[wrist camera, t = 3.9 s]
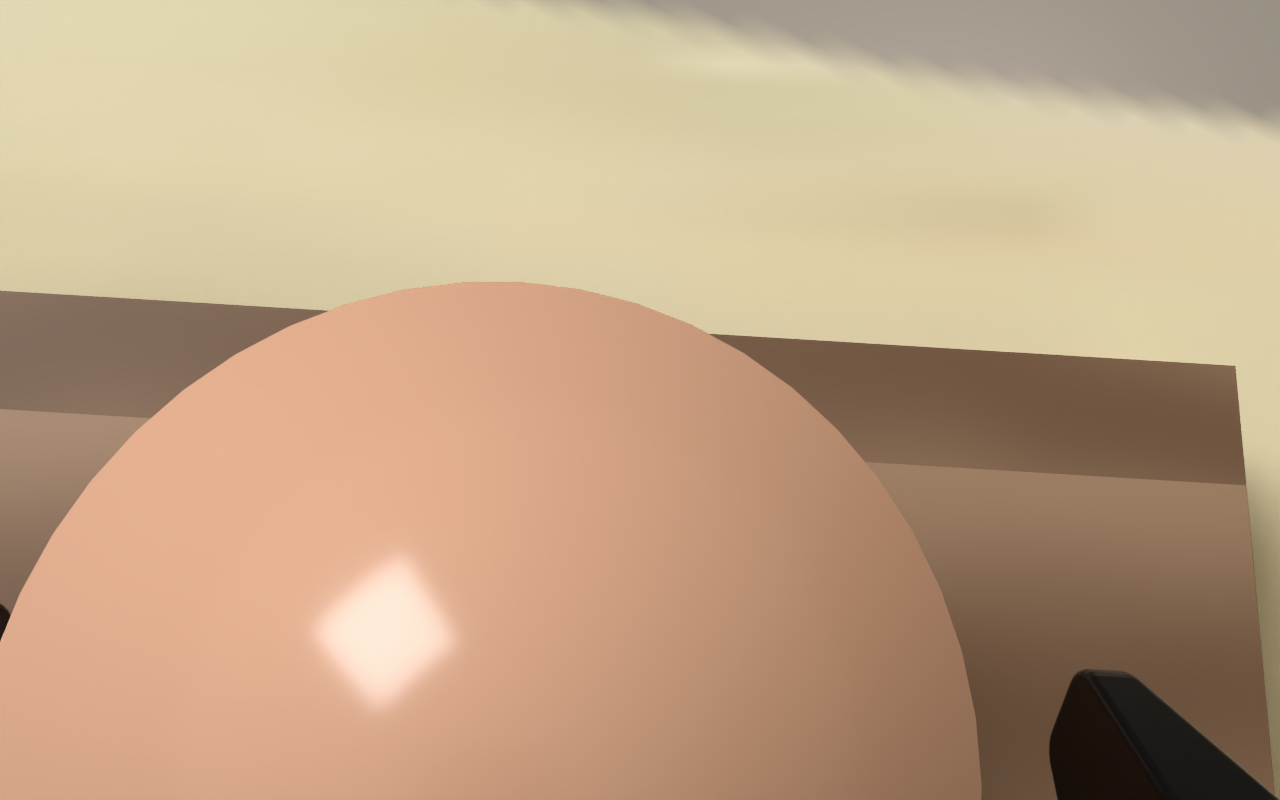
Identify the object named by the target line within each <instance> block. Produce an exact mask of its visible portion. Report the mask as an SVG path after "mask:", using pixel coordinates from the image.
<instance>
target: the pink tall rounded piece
mask: <svg viewBox="0 0 1280 800" xmlns="http://www.w3.org/2000/svg"><path fill="white" fill-rule="evenodd" d="M981 793H982V784H981V772H980V760H979V749H978V737H977V725H976V716H975V711H974V706H973V702H972V697H971V692H970V687H969V682H968V678H967V673H966V668H965V663H964V659H963V654H962V650H961V647H960V644H959V641H958V638H957V635H956V632H955V629H954V627H953V624H952V621H951V618H950V615H949V612H948V609H947V606H946V603H945V600H944V597H943V594H942V592H941V589H940V586H939V584H938V582H937V580H936V578H935V576H934V574H933V572H932V570H931V568H930V566H929V564H928V562H927V560H926V558H925V556H924V554H923V552H922V549H921V547H920V545H919V543H918V541H917V539H916V537H915V535H914V533H913V531H912V529H911V528H910V526H909V525H908V523H907V521H906V520H905V518H904V517H903V515H902V514H901V512H900V511H899V509H898V508H897V506H896V505H895V503H894V501H893V500H892V498H891V497H890V495H889V494H888V492H887V491H886V489H885V488H884V486H883V485H882V483H881V481H880V480H879V478H878V477H877V476H876V475H875V473H874V472H873V471H872V470H871V469H870V467H869V466H868V465H867V464H866V463H865V461H864V460H863V459H862V458H861V457H860V456H859V454H858V453H857V452H856V451H855V450H854V448H853V447H852V446H851V445H850V444H849V442H848V441H847V440H846V439H845V438H844V437H843V435H842V434H841V433H840V432H839V431H838V429H836V428H835V427H834V426H833V425H832V424H831V423H830V422H829V421H828V420H827V419H826V418H825V417H824V416H822V415H821V414H820V413H819V412H818V411H817V410H816V409H815V408H814V407H813V406H812V405H811V404H809V403H808V402H807V401H806V400H805V399H804V398H803V397H802V396H801V395H800V394H799V393H798V392H796V391H795V390H794V389H793V388H792V387H791V386H789V385H788V384H786V383H785V382H784V381H782V380H781V379H779V378H778V377H777V376H775V375H774V374H772V373H771V372H770V371H768V370H767V369H765V368H764V367H763V366H761V365H760V364H758V363H757V362H756V361H754V360H753V359H751V358H750V357H749V356H747V355H746V354H744V353H743V352H741V351H739V350H737V349H735V348H733V347H732V346H730V345H728V344H726V343H724V342H722V341H720V340H719V339H717V338H715V337H713V336H711V335H709V334H708V333H706V332H704V331H702V330H700V329H698V328H696V327H695V326H693V325H691V324H688V323H685V322H683V321H680V320H678V319H675V318H673V317H670V316H667V315H665V314H662V313H660V312H657V311H655V310H652V309H649V308H647V307H644V306H642V305H639V304H636V303H632V302H628V301H624V300H620V299H616V298H612V297H608V296H604V295H600V294H596V293H592V292H588V291H584V290H580V289H573V288H564V287H556V286H548V285H540V284H532V283H523V282H463V283H455V284H447V285H439V286H431V287H423V288H415V289H407V290H401V291H397V292H393V293H390V294H386V295H382V296H378V297H374V298H370V299H366V300H362V301H358V302H354V303H350V304H346V305H343V306H341V307H338V308H335V309H333V310H330V311H327V312H325V313H322V314H320V315H317V316H314V317H312V318H309V319H307V320H304V321H301V322H299V323H296V324H293V325H291V326H289V327H287V328H285V329H283V330H281V331H279V332H277V333H275V334H273V335H271V336H270V337H268V338H266V339H264V340H262V341H260V342H258V343H256V344H254V345H252V346H250V347H249V348H247V349H245V350H243V351H241V352H239V353H237V354H235V355H234V356H232V357H231V358H229V359H228V360H226V361H225V362H224V363H222V364H221V365H219V366H218V367H216V368H215V369H213V370H212V371H210V372H209V373H207V374H206V375H205V376H203V377H202V378H200V379H199V380H197V381H196V382H194V383H193V384H191V385H190V386H188V387H187V388H186V389H184V390H183V391H182V392H180V393H179V394H178V395H177V396H176V397H175V398H174V399H172V400H171V401H170V402H169V403H168V404H167V405H166V406H164V407H163V408H162V409H161V410H160V411H159V412H158V413H156V414H155V415H154V416H153V417H152V418H151V419H150V420H148V421H147V422H146V423H145V424H144V425H143V426H142V427H140V428H139V429H138V430H137V431H136V432H135V433H134V434H133V435H132V436H131V437H130V438H129V439H128V440H127V442H126V443H125V444H124V445H123V446H122V447H121V448H120V449H119V450H118V451H117V453H116V454H115V455H114V456H113V457H112V458H111V459H110V460H109V461H108V462H107V464H106V465H105V466H104V467H103V468H102V469H101V470H100V471H99V472H98V473H97V475H96V476H95V477H94V478H93V479H92V480H91V481H90V483H89V484H88V486H87V487H86V488H85V490H84V491H83V493H82V494H81V495H80V497H79V498H78V500H77V501H76V502H75V504H74V505H73V507H72V508H71V509H70V511H69V512H68V514H67V515H66V516H65V518H64V519H63V521H62V522H61V523H60V525H59V526H58V527H57V529H56V530H55V532H54V533H53V535H52V536H51V538H50V540H49V542H48V544H47V545H46V547H45V549H44V551H43V553H42V554H41V556H40V558H39V560H38V562H37V563H36V565H35V567H34V569H33V571H32V572H31V574H30V576H29V578H28V580H27V582H26V583H25V585H24V587H23V589H22V591H21V592H20V594H19V597H18V599H17V602H16V604H15V607H14V609H13V612H12V614H11V616H10V619H9V621H8V624H7V626H6V629H5V631H4V634H3V636H2V638H1V641H0V800H981Z"/></svg>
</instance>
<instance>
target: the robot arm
mask: <svg viewBox="0 0 1280 800" xmlns="http://www.w3.org/2000/svg"><path fill="white" fill-rule="evenodd" d="M10 616H11V614H10V612H9V610H8V609H7V608H6V607H5V606H3V605H2V604H1V603H0V641H1V638H2V636H3V634H4V631H5V629H6V626H7V624H8V621H9V619H10ZM1049 759H1050V766H1051V771H1052V775H1053V780H1054V785H1055V790H1056V795H1057V799H1058V800H1279V799H1278V798H1277V797H1276V796H1275V795H1274V794H1272V793H1271V792H1270V791H1269V790H1268V789H1267V788H1265V787H1264V786H1263V785H1262V784H1261V783H1260V782H1258V781H1257V780H1256V779H1255V778H1254V777H1253V776H1251V775H1250V774H1249V773H1248V772H1247V771H1246V770H1244V769H1243V768H1242V767H1241V766H1240V765H1239V764H1237V763H1236V762H1235V761H1234V760H1233V759H1232V758H1230V757H1229V756H1228V755H1227V754H1226V753H1225V752H1223V751H1222V750H1221V749H1220V748H1219V747H1218V746H1216V745H1215V744H1214V743H1213V742H1212V741H1211V740H1209V739H1208V738H1207V737H1206V736H1205V735H1204V734H1202V733H1201V732H1200V731H1199V730H1198V729H1197V728H1195V727H1194V726H1193V725H1192V724H1191V723H1190V722H1188V721H1187V720H1186V719H1185V718H1184V717H1183V716H1181V715H1180V714H1179V713H1178V712H1177V711H1176V710H1174V709H1173V708H1172V707H1171V706H1170V705H1169V704H1167V703H1166V702H1165V701H1164V700H1163V699H1162V698H1160V697H1159V696H1158V695H1157V694H1156V693H1155V692H1153V691H1152V690H1151V689H1150V688H1149V687H1148V686H1146V685H1145V684H1144V683H1143V682H1142V681H1141V680H1139V679H1138V678H1137V677H1135V676H1134V675H1132V674H1130V673H1128V672H1124V671H1116V670H1100V669H1083V670H1080V671H1078V672H1077V673H1076V674H1075V675H1074V676H1073V678H1072V680H1071V682H1070V685H1069V687H1068V690H1067V692H1066V695H1065V698H1064V700H1063V703H1062V706H1061V708H1060V711H1059V713H1058V716H1057V719H1056V721H1055V724H1054V727H1053V729H1052V732H1051V736H1050V742H1049Z"/></svg>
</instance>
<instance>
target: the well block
mask: <svg viewBox="0 0 1280 800" xmlns="http://www.w3.org/2000/svg"><path fill="white" fill-rule="evenodd" d="M325 312H327V311H323V310H306V309H290V308H273V307H257V306H241V305H224V304H208V303H191V302H175V301H158V300H142V299H125V298H109V297H93V296H76V295H60V294H43V293H27V292H10V291H0V603H1V604H2V605H3V606H5V607H6V608H7V609H8V610H9V612H10V614H12V612H13V609H14V607H15V604H16V602H17V599H18V597H19V594H20V592H21V591H22V589H23V587H24V585H25V583H26V582H27V580H28V578H29V576H30V574H31V572H32V571H33V569H34V567H35V565H36V563H37V562H38V560H39V558H40V556H41V554H42V553H43V551H44V549H45V547H46V545H47V544H48V542H49V540H50V538H51V536H52V535H53V533H54V532H55V530H56V529H57V527H58V526H59V525H60V523H61V522H62V521H63V519H64V518H65V516H66V515H67V514H68V512H69V511H70V509H71V508H72V507H73V505H74V504H75V502H76V501H77V500H78V498H79V497H80V495H81V494H82V493H83V491H84V490H85V488H86V487H87V486H88V484H89V483H90V481H91V480H92V479H93V478H94V477H95V476H96V475H97V473H98V472H99V471H100V470H101V469H102V468H103V467H104V466H105V465H106V464H107V462H108V461H109V460H110V459H111V458H112V457H113V456H114V455H115V454H116V453H117V451H118V450H119V449H120V448H121V447H122V446H123V445H124V444H125V443H126V442H127V440H128V439H129V438H130V437H131V436H132V435H133V434H134V433H135V432H136V431H137V430H138V429H139V428H140V427H142V426H143V425H144V424H145V423H146V422H147V421H148V420H150V419H151V418H152V417H153V416H154V415H155V414H156V413H158V412H159V411H160V410H161V409H162V408H163V407H164V406H166V405H167V404H168V403H169V402H170V401H171V400H172V399H174V398H175V397H176V396H177V395H178V394H179V393H180V392H182V391H183V390H184V389H186V388H187V387H188V386H190V385H191V384H193V383H194V382H196V381H197V380H199V379H200V378H202V377H203V376H205V375H206V374H207V373H209V372H210V371H212V370H213V369H215V368H216V367H218V366H219V365H221V364H222V363H224V362H225V361H226V360H228V359H229V358H231V357H232V356H234V355H235V354H237V353H239V352H241V351H243V350H245V349H247V348H249V347H250V346H252V345H254V344H256V343H258V342H260V341H262V340H264V339H266V338H268V337H270V336H271V335H273V334H275V333H277V332H279V331H281V330H283V329H285V328H287V327H289V326H291V325H293V324H296V323H299V322H301V321H304V320H307V319H309V318H312V317H314V316H317V315H320V314H322V313H325ZM709 335H711V336H713V337H715V338H717V339H719V340H720V341H722V342H724V343H726V344H728V345H730V346H732V347H733V348H735V349H737V350H739V351H741V352H743V353H744V354H746V355H747V356H749V357H750V358H751V359H753V360H754V361H756V362H757V363H758V364H760V365H761V366H763V367H764V368H765V369H767V370H768V371H770V372H771V373H772V374H774V375H775V376H777V377H778V378H779V379H781V380H782V381H784V382H785V383H786V384H788V385H789V386H791V387H792V388H793V389H794V390H795V391H796V392H798V393H799V394H800V395H801V396H802V397H803V398H804V399H805V400H806V401H807V402H808V403H809V404H811V405H812V406H813V407H814V408H815V409H816V410H817V411H818V412H819V413H820V414H821V415H822V416H824V417H825V418H826V419H827V420H828V421H829V422H830V423H831V424H832V425H833V426H834V427H835V428H836V429H838V431H839V432H840V433H841V434H842V435H843V437H844V438H845V439H846V440H847V441H848V442H849V444H850V445H851V446H852V447H853V448H854V450H855V451H856V452H857V453H858V454H859V456H860V457H861V458H862V459H863V460H864V461H865V463H866V464H867V465H868V466H869V467H870V469H871V470H872V471H873V472H874V473H875V475H876V476H877V477H878V478H879V480H880V481H881V483H882V485H883V486H884V488H885V489H886V491H887V492H888V494H889V495H890V497H891V498H892V500H893V501H894V503H895V505H896V506H897V508H898V509H899V511H900V512H901V514H902V515H903V517H904V518H905V520H906V521H907V523H908V525H909V526H910V528H911V529H912V531H913V533H914V535H915V537H916V539H917V541H918V543H919V545H920V547H921V549H922V552H923V554H924V556H925V558H926V560H927V562H928V564H929V566H930V568H931V570H932V572H933V574H934V576H935V578H936V580H937V582H938V584H939V586H940V589H941V592H942V594H943V597H944V600H945V603H946V606H947V609H948V612H949V615H950V618H951V621H952V624H953V627H954V629H955V632H956V635H957V638H958V641H959V644H960V647H961V650H962V654H963V659H964V663H965V668H966V673H967V678H968V682H969V687H970V692H971V697H972V702H973V706H974V711H975V716H976V725H977V737H978V749H979V760H980V772H981V784H982V793H981V800H1058V799H1057V795H1056V790H1055V785H1054V780H1053V775H1052V771H1051V766H1050V759H1049V742H1050V736H1051V732H1052V729H1053V727H1054V724H1055V721H1056V719H1057V716H1058V713H1059V711H1060V708H1061V706H1062V703H1063V700H1064V698H1065V695H1066V692H1067V690H1068V687H1069V685H1070V682H1071V680H1072V678H1073V676H1074V675H1075V674H1076V673H1077V672H1078V671H1080V670H1083V669H1100V670H1116V671H1124V672H1128V673H1130V674H1132V675H1134V676H1135V677H1137V678H1138V679H1139V680H1141V681H1142V682H1143V683H1144V684H1145V685H1146V686H1148V687H1149V688H1150V689H1151V690H1152V691H1153V692H1155V693H1156V694H1157V695H1158V696H1159V697H1160V698H1162V699H1163V700H1164V701H1165V702H1166V703H1167V704H1169V705H1170V706H1171V707H1172V708H1173V709H1174V710H1176V711H1177V712H1178V713H1179V714H1180V715H1181V716H1183V717H1184V718H1185V719H1186V720H1187V721H1188V722H1190V723H1191V724H1192V725H1193V726H1194V727H1195V728H1197V729H1198V730H1199V731H1200V732H1201V733H1202V734H1204V735H1205V736H1206V737H1207V738H1208V739H1209V740H1211V741H1212V742H1213V743H1214V744H1215V745H1216V746H1218V747H1219V748H1220V749H1221V750H1222V751H1223V752H1225V753H1226V754H1227V755H1228V756H1229V757H1230V758H1232V759H1233V760H1234V761H1235V762H1236V763H1237V764H1239V765H1240V766H1241V767H1242V768H1243V769H1244V770H1246V771H1247V772H1248V773H1249V774H1250V775H1251V776H1253V777H1254V778H1255V779H1256V780H1257V781H1258V782H1260V783H1261V784H1262V785H1263V786H1264V787H1265V788H1267V789H1268V790H1269V791H1270V792H1271V793H1272V794H1274V783H1273V772H1272V761H1271V750H1270V740H1269V729H1268V718H1267V707H1266V696H1265V685H1264V674H1263V663H1262V652H1261V642H1260V631H1259V620H1258V609H1257V598H1256V587H1255V576H1254V565H1253V554H1252V544H1251V533H1250V522H1249V511H1248V500H1247V489H1246V478H1245V467H1244V456H1243V446H1242V435H1241V424H1240V413H1239V402H1238V391H1237V380H1236V369H1235V366H1227V365H1211V364H1195V363H1178V362H1162V361H1145V360H1129V359H1112V358H1096V357H1079V356H1063V355H1047V354H1030V353H1014V352H997V351H981V350H964V349H948V348H931V347H915V346H898V345H882V344H866V343H849V342H833V341H816V340H800V339H783V338H767V337H750V336H734V335H718V334H709ZM1274 795H1275V794H1274Z"/></svg>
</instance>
